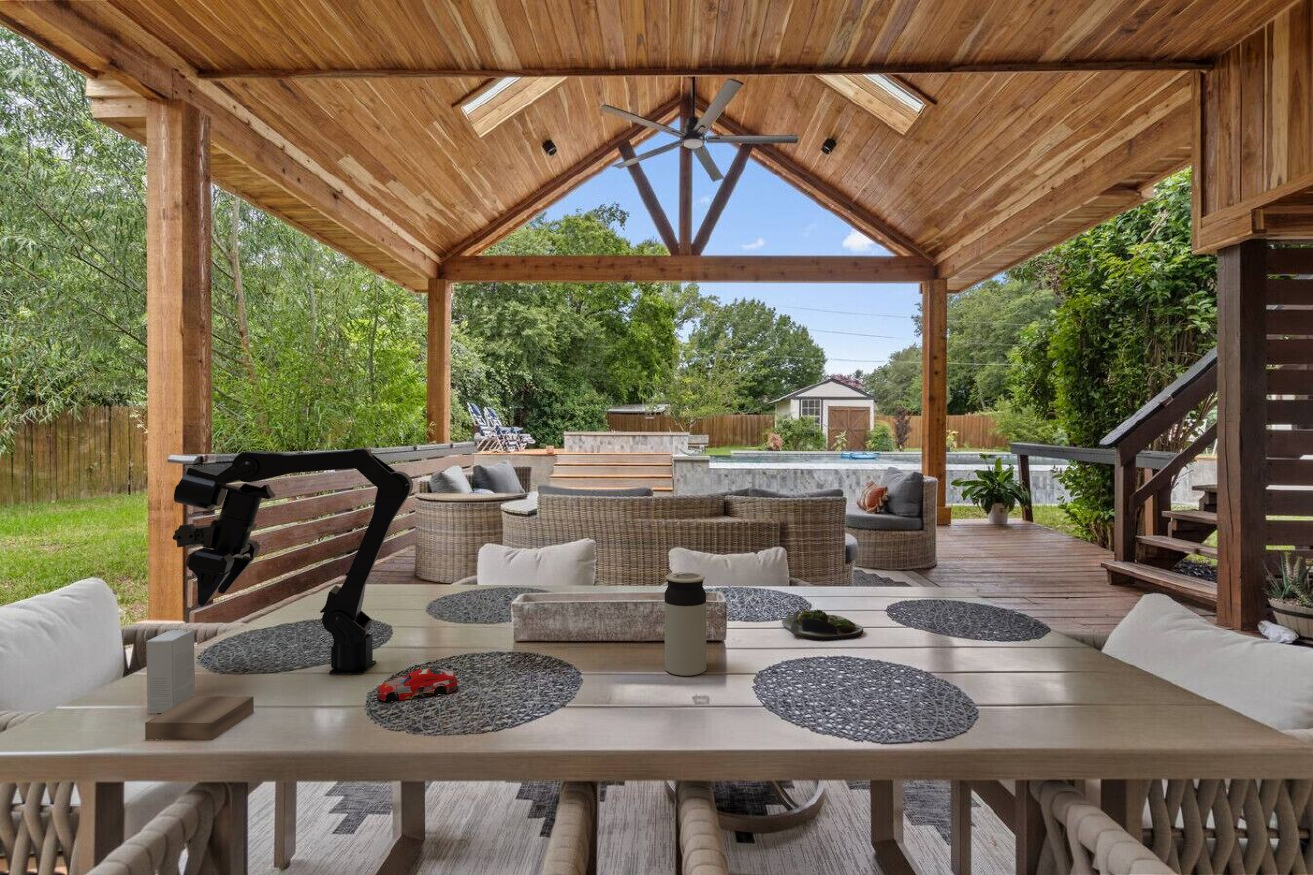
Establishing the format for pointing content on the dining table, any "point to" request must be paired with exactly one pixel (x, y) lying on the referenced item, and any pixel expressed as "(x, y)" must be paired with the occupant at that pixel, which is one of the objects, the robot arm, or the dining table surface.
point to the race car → (418, 685)
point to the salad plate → (821, 626)
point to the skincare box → (170, 670)
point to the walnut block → (199, 718)
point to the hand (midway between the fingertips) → (211, 598)
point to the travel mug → (685, 624)
